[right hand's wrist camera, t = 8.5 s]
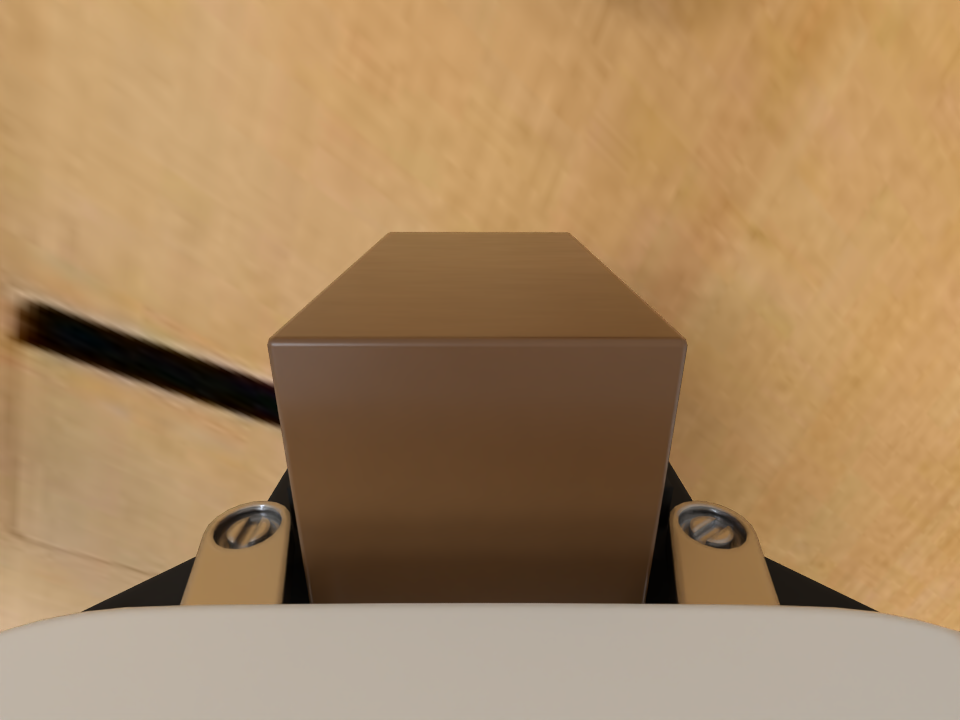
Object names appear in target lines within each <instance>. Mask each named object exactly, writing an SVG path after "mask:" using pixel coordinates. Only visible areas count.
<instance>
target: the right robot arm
mask: <svg viewBox="0 0 960 720" xmlns="http://www.w3.org/2000/svg"><path fill="white" fill-rule="evenodd" d="M0 720H960V631H956V630H953V629H949V628H946V627H942V626H938V625H935V624H931V623H928V622H924V621H921V620H917V619H912V618H907V617H902V616H896V615H891V614H885V613H880V612H878V611H876V610H874V609H872V608H870V607H868V606H866V605H863V604H861V603H859V602H857V601H855V600H853V599H851V598H849V597H847V596H845V595H843V594H841V593H839V592H837V591H834V590H832V589H830V588H828V587H826V586H824V585H822V584H820V583H818V582H816V581H814V580H812V579H810V578H808V577H805V576H803V575H801V574H799V573H797V572H795V571H793V570H791V569H789V568H787V567H785V566H783V565H781V564H779V563H776V562H774V561H772V560H770V559H768V558H766V557H764V555H763V552H762V549H761V546H760V543H759V540H758V537H757V534H756V532H755V530H754V529H753V527H752V525H751V524H750V523H749V522H748V521H747V520H746V519H745V518H744V517H742V516H741V515H739V514H738V513H736V512H734V511H733V510H731V509H728V508H726V507H724V506H721V505H718V504H714V503H710V502H703V501H692V499H691V497H690V496H689V494H688V492H687V491H686V489H685V487H684V486H683V484H682V483H681V481H680V479H679V478H678V476H677V474H676V473H675V471H674V469H673V468H672V466H671V464H670V463H669V461H668V467H667V473H666V479H665V485H664V491H663V497H662V504H661V510H660V516H659V522H658V528H657V534H656V540H655V546H654V552H653V559H652V565H651V571H650V577H649V583H648V589H647V595H646V601H645V604H596V603H360V604H310V601H309V595H308V588H307V582H306V576H305V570H304V564H303V558H302V552H301V546H300V540H299V534H298V528H297V522H296V516H295V510H294V504H293V497H292V491H291V485H290V479H289V473H288V468H287V470H286V472H285V473H284V475H283V477H282V478H281V480H280V482H279V483H278V485H277V486H276V488H275V490H274V491H273V493H272V495H271V496H270V498H269V500H268V501H257V502H250V503H246V504H242V505H239V506H236V507H234V508H232V509H229V510H227V511H226V512H224V513H222V514H221V515H219V516H218V517H216V518H215V519H214V520H213V521H212V522H211V523H210V524H209V525H208V527H207V529H206V530H205V532H204V534H203V537H202V540H201V543H200V546H199V549H198V552H197V555H196V557H194V558H192V559H190V560H188V561H186V562H184V563H182V564H180V565H178V566H176V567H173V568H171V569H169V570H167V571H165V572H163V573H161V574H159V575H157V576H155V577H153V578H151V579H149V580H147V581H144V582H142V583H140V584H138V585H136V586H134V587H132V588H130V589H128V590H126V591H124V592H122V593H120V594H118V595H115V596H113V597H111V598H109V599H107V600H105V601H103V602H101V603H99V604H97V605H95V606H93V607H91V608H88V609H86V610H84V611H82V612H80V613H75V614H69V615H64V616H58V617H53V618H48V619H43V620H39V621H36V622H32V623H29V624H25V625H22V626H18V627H14V628H11V629H7V630H4V631H0Z"/></svg>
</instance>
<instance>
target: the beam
mask: <svg viewBox="0 0 960 720" xmlns="http://www.w3.org/2000/svg"><path fill="white" fill-rule="evenodd" d="M267 345H268V352H269V358H270V364H271V370H272V376H273V382H274V388H275V394H276V400H277V406H278V412H279V419H280V425H281V431H282V437H283V443H284V449H285V455H286V461H287V467H288V473H289V479H290V485H291V491H292V497H293V504H294V510H295V516H296V522H297V528H298V534H299V540H300V546H301V552H302V558H303V564H304V570H305V576H306V582H307V588H308V595H309V601H310V604H360V603H596V604H645V601H646V595H647V589H648V583H649V577H650V571H651V565H652V559H653V552H654V546H655V540H656V534H657V528H658V522H659V516H660V510H661V504H662V497H663V491H664V485H665V479H666V473H667V467H668V461H669V455H670V449H671V442H672V436H673V430H674V424H675V418H676V412H677V406H678V400H679V394H680V387H681V381H682V375H683V369H684V363H685V357H686V351H687V342H686V339H685V338H684V337H683V336H682V335H681V334H679V333H678V332H677V331H676V330H675V329H674V328H673V327H672V326H671V325H670V324H668V323H667V322H666V321H665V320H664V319H663V318H662V317H661V316H660V315H659V314H658V313H656V312H655V311H654V310H653V309H652V308H651V307H650V306H649V305H648V304H647V303H646V302H644V301H643V300H642V299H641V298H640V297H639V296H638V295H637V294H636V293H635V292H633V291H632V290H631V289H630V288H629V287H628V286H627V285H626V284H625V283H624V282H623V281H621V280H620V279H619V278H618V277H617V276H616V275H615V274H614V273H613V272H612V271H610V270H609V269H608V268H607V267H606V266H605V265H604V264H603V263H602V262H601V261H600V260H598V259H597V258H596V257H595V256H594V255H593V254H592V253H591V252H590V251H589V250H588V249H586V248H585V247H584V246H583V245H582V244H581V243H580V242H579V241H578V240H577V239H575V238H574V237H573V236H572V235H571V234H570V233H528V232H390V233H388V234H387V235H386V236H384V237H383V238H382V239H381V240H380V241H379V242H378V243H376V244H375V245H374V246H373V247H372V248H371V249H370V250H369V251H367V252H366V253H365V254H364V255H363V256H362V257H361V258H360V259H358V260H357V261H356V262H355V263H354V264H353V265H352V266H351V267H349V268H348V269H347V270H346V271H345V272H344V273H343V274H341V275H340V276H339V277H338V278H337V279H336V280H335V281H334V282H332V283H331V284H330V285H329V286H328V287H327V288H326V289H325V290H323V291H322V292H321V293H320V294H319V295H318V296H317V297H316V298H314V299H313V300H312V301H311V302H310V303H309V304H308V305H306V306H305V307H304V308H303V309H302V310H301V311H300V312H299V313H297V314H296V315H295V316H294V317H293V318H292V319H291V320H290V321H288V322H287V323H286V324H285V325H284V326H283V327H282V328H281V329H279V330H278V331H277V332H276V333H275V334H274V335H273V336H271V337H270V338H269V341H268V344H267Z"/></svg>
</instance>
